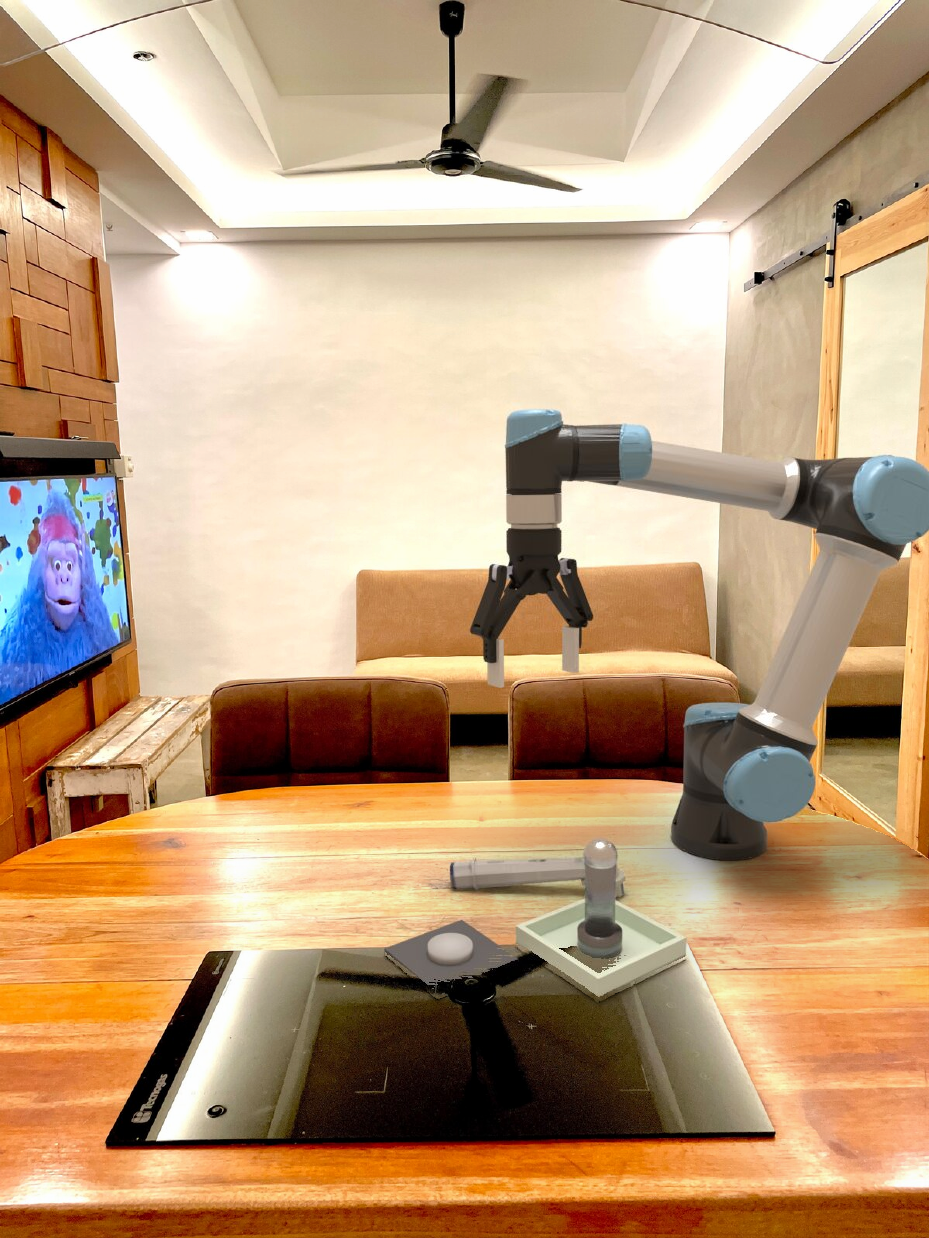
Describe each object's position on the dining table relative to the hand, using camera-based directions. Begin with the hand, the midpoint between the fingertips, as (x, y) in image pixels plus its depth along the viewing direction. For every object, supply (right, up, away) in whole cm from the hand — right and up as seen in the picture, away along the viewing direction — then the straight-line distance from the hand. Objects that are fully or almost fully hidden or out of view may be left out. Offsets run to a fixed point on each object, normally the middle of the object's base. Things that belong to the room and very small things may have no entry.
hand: (534, 678), depth 122 cm
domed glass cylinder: (+7, -33, -12) cm, 36 cm away
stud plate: (-12, -34, -13) cm, 39 cm away
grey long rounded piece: (+1, -32, +5) cm, 32 cm away
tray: (+7, -34, -12) cm, 37 cm away
